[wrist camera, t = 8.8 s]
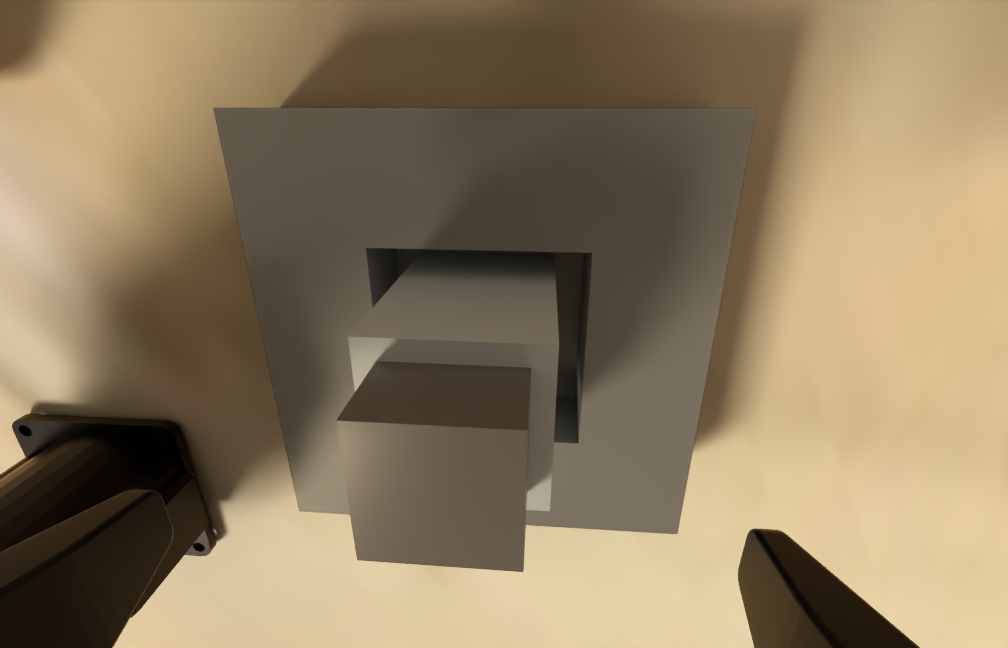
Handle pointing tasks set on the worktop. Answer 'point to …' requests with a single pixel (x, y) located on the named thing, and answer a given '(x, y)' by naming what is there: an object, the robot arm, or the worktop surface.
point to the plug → (453, 412)
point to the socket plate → (501, 231)
